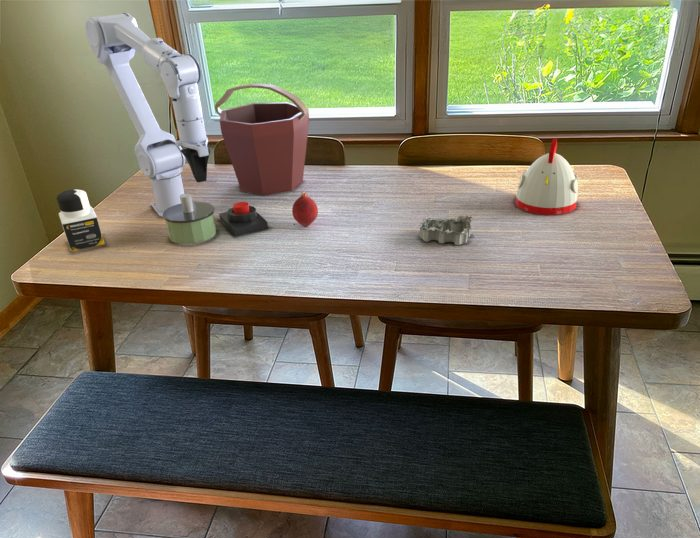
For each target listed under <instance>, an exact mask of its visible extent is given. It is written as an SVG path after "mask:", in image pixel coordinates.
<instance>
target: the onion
mask: <svg viewBox="0 0 700 538" xmlns="http://www.w3.org/2000/svg"><path fill="white" fill-rule="evenodd" d="M291 210H292V211H291V213H292V217H293V219H294V220H295V222H297V223H298V224H299V225H301V226H303V227H305V228H306V227H309V226H310V225H311V224H312V223H314V222H315V221H316V219H317V217H318V216H319V207H318V205H317V203H316V201H315V200H314V199H313V198H311V197H310V196H308V193H307V192H306V191H302V193H301V194H300V196H299V197H298V198H297V199H296V200H295V201H294V202H293V205H292V208H291Z"/></svg>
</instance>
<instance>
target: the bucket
mask: <svg viewBox="0 0 700 538" xmlns="http://www.w3.org/2000/svg"><path fill="white" fill-rule="evenodd" d="M244 89H263V90H269V91H272V92H273V93H276V94H278V95H280V96H282V97H284V98H286V99H287V100H289V101H290V102H289V101H288V102H286V101H284V102H283V101H282V102H280V101H279V102H251V103H246V104H243V105H239V106H235V107H231V108H227V109H221V108H220V107H221V106H222V105H223V104H225V103H226V102H227V101H228V100H229V99H230V97H231V96H232V94H233V93H234V92H235V91H240V90H244ZM214 110H215V113H216V114H217V115H218V116H219V125H220V131H221V135H222V136H221V137H222V139H223V141H224V144H225V147H226V150H227V153H228V156H229V159H230V162H231V165H232V168H233V171H234V174H235V177H236V180H237V182H238V185H239V188H240V191H241V192H243V193H249V194H255V195H259V196H271V195H275V194H282V193H287V192H293V190H295V189H296V188H297V187H298V186H299V185H301V184H302V183H303V181H304V175H305V174H304V173H305V164H306V154H307V146H308V138H309V137H308V136H309V126H310V113H309V112H310V111H309V108H308V107H307V105H306V104H305V103H304V102H303V100H301V98H300V97H298V96H296V95H295V94H294V93H292V92H291V91H288V90H286V89H285V88H283V87H280V86H279V85H275V84H269V83H258V82H257V83H246V84H240V85H237V86H233V87H231V88H229V89H226V91H225V92H224V93H223V95H222V96H221V97H220V99H219V100H218V101H216V102H215V104H214Z"/></svg>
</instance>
